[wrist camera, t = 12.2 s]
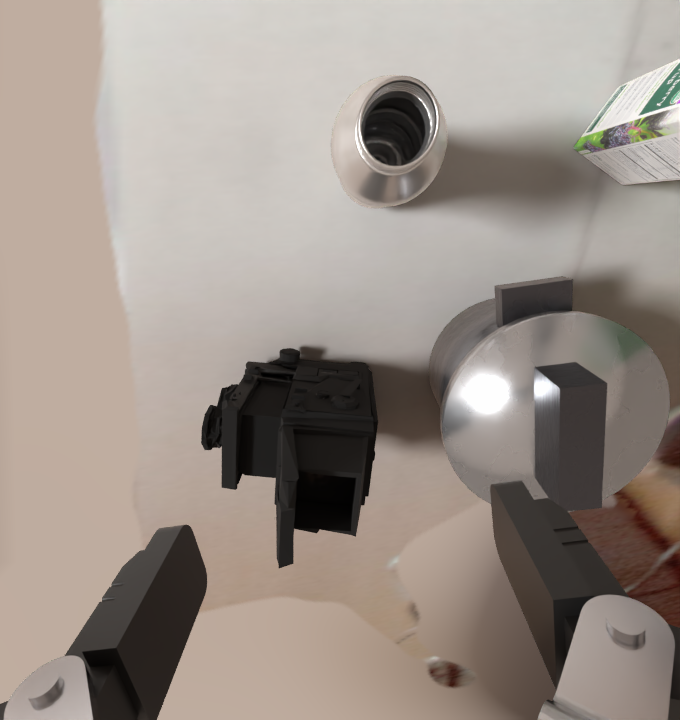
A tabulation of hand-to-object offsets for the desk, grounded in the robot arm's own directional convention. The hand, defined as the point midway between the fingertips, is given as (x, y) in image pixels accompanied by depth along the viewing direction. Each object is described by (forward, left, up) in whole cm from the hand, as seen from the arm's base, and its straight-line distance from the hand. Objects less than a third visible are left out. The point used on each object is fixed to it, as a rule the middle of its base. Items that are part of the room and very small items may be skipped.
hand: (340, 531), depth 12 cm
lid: (-4, +16, -21) cm, 26 cm away
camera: (+10, +2, -32) cm, 34 cm away
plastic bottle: (-11, -5, -32) cm, 34 cm away
